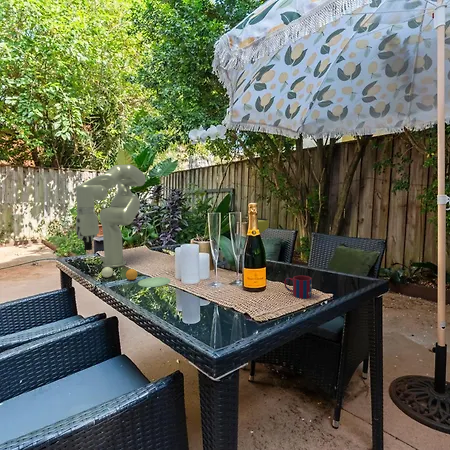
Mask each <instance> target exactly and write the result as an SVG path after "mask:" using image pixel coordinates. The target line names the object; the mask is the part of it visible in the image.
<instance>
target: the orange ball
mask: <svg viewBox="0 0 450 450" xmlns="http://www.w3.org/2000/svg"><path fill="white" fill-rule="evenodd" d="M125 277H126V278H127V280H128V281H134V280H135V279H137V277H138V271H137V270H136V269H134V268H130V269H128V270H127V271H126V273H125Z"/></svg>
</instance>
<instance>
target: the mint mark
mask: <svg viewBox="0 0 450 450" xmlns="http://www.w3.org/2000/svg"><path fill="white" fill-rule="evenodd" d="M169 282H170V283H171V279H170V278H168V277H162V276H161V277H160V276H159V277H158V276H156V277H148V278H144V279H141V280H139V281H138V282H137V285H138V286H140V287H143V288H157V287H163V286H165V285H166V286H167V285H168V284H170V283H169Z"/></svg>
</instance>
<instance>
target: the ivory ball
mask: <svg viewBox="0 0 450 450" xmlns="http://www.w3.org/2000/svg"><path fill="white" fill-rule="evenodd" d="M100 273H101V276H102V277H103V278H107V279H108V278H111V277H112V275H113V273H114V272H113V268H112V267H103V268H102V270H101V272H100Z"/></svg>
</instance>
